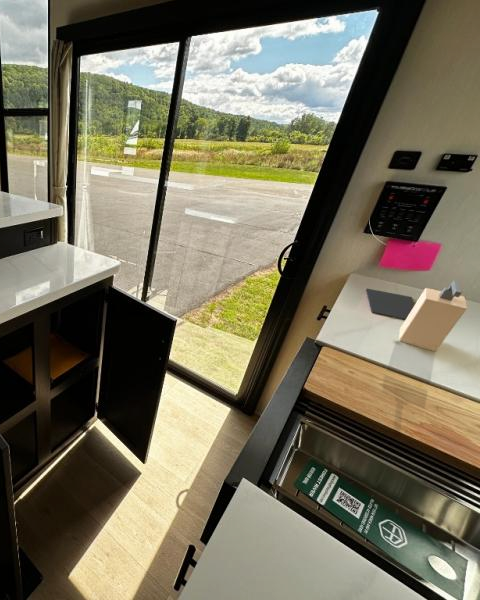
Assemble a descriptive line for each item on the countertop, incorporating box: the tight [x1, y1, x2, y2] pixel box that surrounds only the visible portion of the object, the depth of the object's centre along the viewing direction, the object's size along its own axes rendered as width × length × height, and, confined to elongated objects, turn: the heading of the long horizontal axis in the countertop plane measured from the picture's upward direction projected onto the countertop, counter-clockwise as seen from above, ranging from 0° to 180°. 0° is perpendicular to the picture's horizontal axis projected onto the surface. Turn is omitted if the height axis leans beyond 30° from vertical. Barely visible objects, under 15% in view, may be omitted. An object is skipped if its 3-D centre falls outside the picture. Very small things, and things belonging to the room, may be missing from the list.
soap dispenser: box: [398, 279, 468, 352], centre depth 96 cm, size 13×9×22 cm
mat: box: [365, 288, 416, 321], centre depth 120 cm, size 14×20×1 cm
